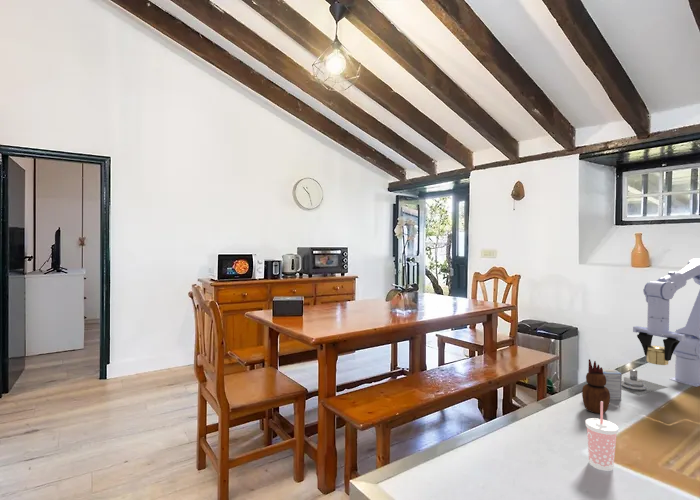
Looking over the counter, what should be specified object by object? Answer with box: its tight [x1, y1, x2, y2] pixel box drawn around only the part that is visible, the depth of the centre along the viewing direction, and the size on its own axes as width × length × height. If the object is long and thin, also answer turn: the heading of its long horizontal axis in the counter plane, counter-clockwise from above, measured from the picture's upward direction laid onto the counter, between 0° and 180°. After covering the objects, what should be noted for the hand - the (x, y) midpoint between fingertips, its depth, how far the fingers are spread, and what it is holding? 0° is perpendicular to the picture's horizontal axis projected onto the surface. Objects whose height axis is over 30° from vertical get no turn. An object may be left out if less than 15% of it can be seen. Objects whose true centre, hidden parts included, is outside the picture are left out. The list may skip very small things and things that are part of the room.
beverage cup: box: [584, 401, 619, 472], centre depth 87 cm, size 6×6×14 cm
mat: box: [621, 379, 667, 396], centre depth 133 cm, size 16×10×1 cm, turn 115°
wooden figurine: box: [581, 359, 611, 414], centre depth 114 cm, size 7×6×15 cm
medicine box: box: [587, 368, 623, 401], centre depth 124 cm, size 8×4×9 cm, turn 84°
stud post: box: [622, 369, 647, 391], centre depth 132 cm, size 7×7×6 cm
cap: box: [646, 345, 669, 366], centre depth 133 cm, size 5×5×5 cm
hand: (657, 357), depth 133 cm, fingers closed on cap, 5 cm apart
